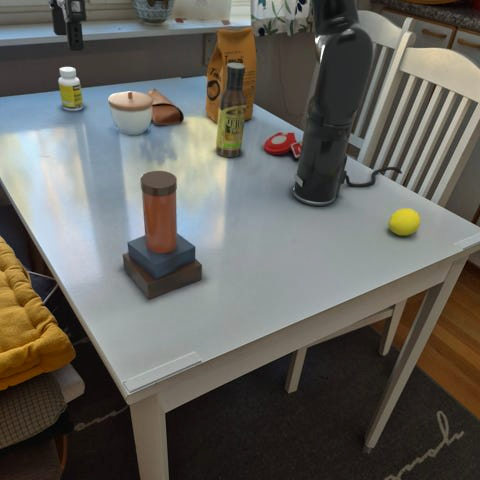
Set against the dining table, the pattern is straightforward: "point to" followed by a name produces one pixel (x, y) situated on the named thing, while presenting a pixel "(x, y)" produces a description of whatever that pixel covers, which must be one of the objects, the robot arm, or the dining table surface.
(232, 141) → the sauce bottle
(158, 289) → the block stack
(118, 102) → the trinket box
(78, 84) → the supplement bottle
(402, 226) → the lemon
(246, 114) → the coffee package
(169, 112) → the sunglasses case
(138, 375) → the dining table surface
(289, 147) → the tracker holder
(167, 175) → the terracotta canister
